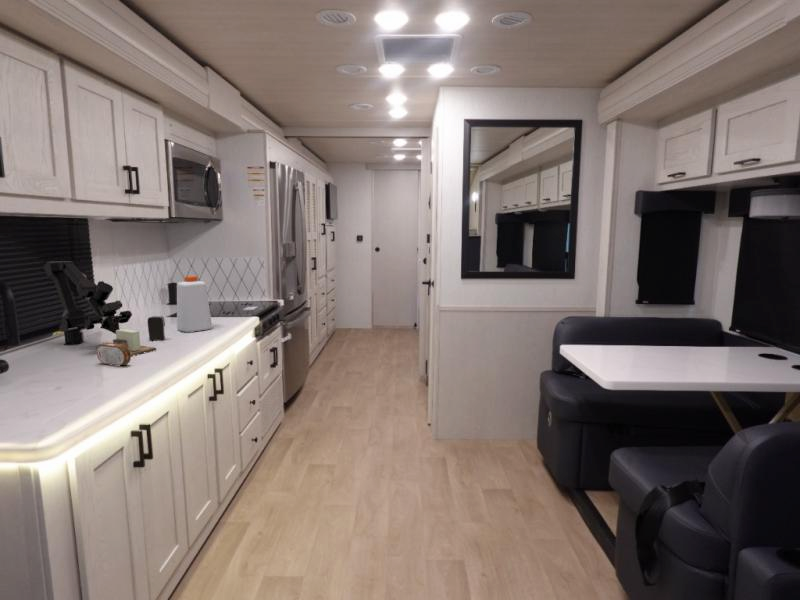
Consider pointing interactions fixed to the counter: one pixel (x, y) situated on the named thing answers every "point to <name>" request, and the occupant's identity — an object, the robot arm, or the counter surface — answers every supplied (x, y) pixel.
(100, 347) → the tin
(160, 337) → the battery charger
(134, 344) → the bar
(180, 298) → the plastic bottle
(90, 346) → the counter surface
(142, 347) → the wooden channel stand
